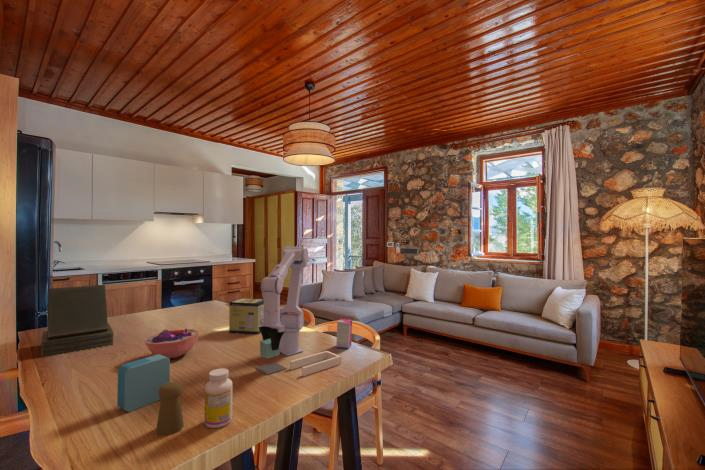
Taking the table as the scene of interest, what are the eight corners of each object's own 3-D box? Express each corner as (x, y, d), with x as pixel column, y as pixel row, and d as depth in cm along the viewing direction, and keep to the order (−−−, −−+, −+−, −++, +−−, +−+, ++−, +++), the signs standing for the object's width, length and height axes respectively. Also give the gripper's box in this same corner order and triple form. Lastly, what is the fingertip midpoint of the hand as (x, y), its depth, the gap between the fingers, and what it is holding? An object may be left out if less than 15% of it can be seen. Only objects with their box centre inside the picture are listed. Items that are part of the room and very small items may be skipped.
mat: (255, 368, 119) (255, 367, 119) (275, 362, 125) (275, 362, 125) (266, 375, 113) (266, 374, 113) (286, 369, 119) (286, 368, 119)
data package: (161, 392, 100) (162, 352, 100) (169, 396, 98) (170, 355, 98) (116, 409, 90) (117, 365, 90) (124, 414, 88) (125, 369, 88)
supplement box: (349, 349, 141) (349, 322, 141) (335, 348, 142) (336, 321, 142) (352, 345, 146) (352, 319, 146) (339, 344, 147) (339, 318, 148)
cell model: (208, 351, 136) (209, 324, 136) (163, 369, 118) (163, 337, 118) (180, 345, 143) (181, 319, 143) (133, 361, 125) (134, 331, 125)
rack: (290, 369, 119) (290, 361, 119) (327, 357, 130) (327, 350, 130) (303, 376, 113) (303, 368, 113) (341, 363, 124) (341, 356, 124)
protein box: (238, 327, 173) (238, 298, 173) (266, 329, 171) (267, 299, 171) (228, 333, 162) (228, 301, 163) (258, 334, 160) (258, 303, 160)
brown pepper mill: (189, 424, 83) (189, 380, 83) (168, 437, 77) (169, 391, 78) (171, 419, 85) (171, 377, 85) (149, 432, 79) (150, 387, 80)
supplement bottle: (211, 414, 88) (212, 366, 88) (236, 415, 88) (236, 366, 88) (199, 429, 81) (199, 376, 81) (225, 429, 81) (226, 377, 81)
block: (260, 354, 119) (260, 341, 119) (272, 351, 122) (272, 337, 122) (266, 358, 115) (266, 344, 115) (279, 354, 118) (279, 340, 118)
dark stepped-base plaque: (40, 358, 128) (41, 294, 128) (42, 345, 143) (43, 288, 143) (113, 345, 143) (114, 288, 144) (108, 335, 158) (109, 283, 158)
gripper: (252, 308, 122) (251, 345, 122) (271, 315, 111) (271, 355, 111) (269, 305, 127) (269, 341, 126) (289, 312, 116) (289, 351, 116)
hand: (271, 347), depth 119 cm, fingers closed on block, 5 cm apart
